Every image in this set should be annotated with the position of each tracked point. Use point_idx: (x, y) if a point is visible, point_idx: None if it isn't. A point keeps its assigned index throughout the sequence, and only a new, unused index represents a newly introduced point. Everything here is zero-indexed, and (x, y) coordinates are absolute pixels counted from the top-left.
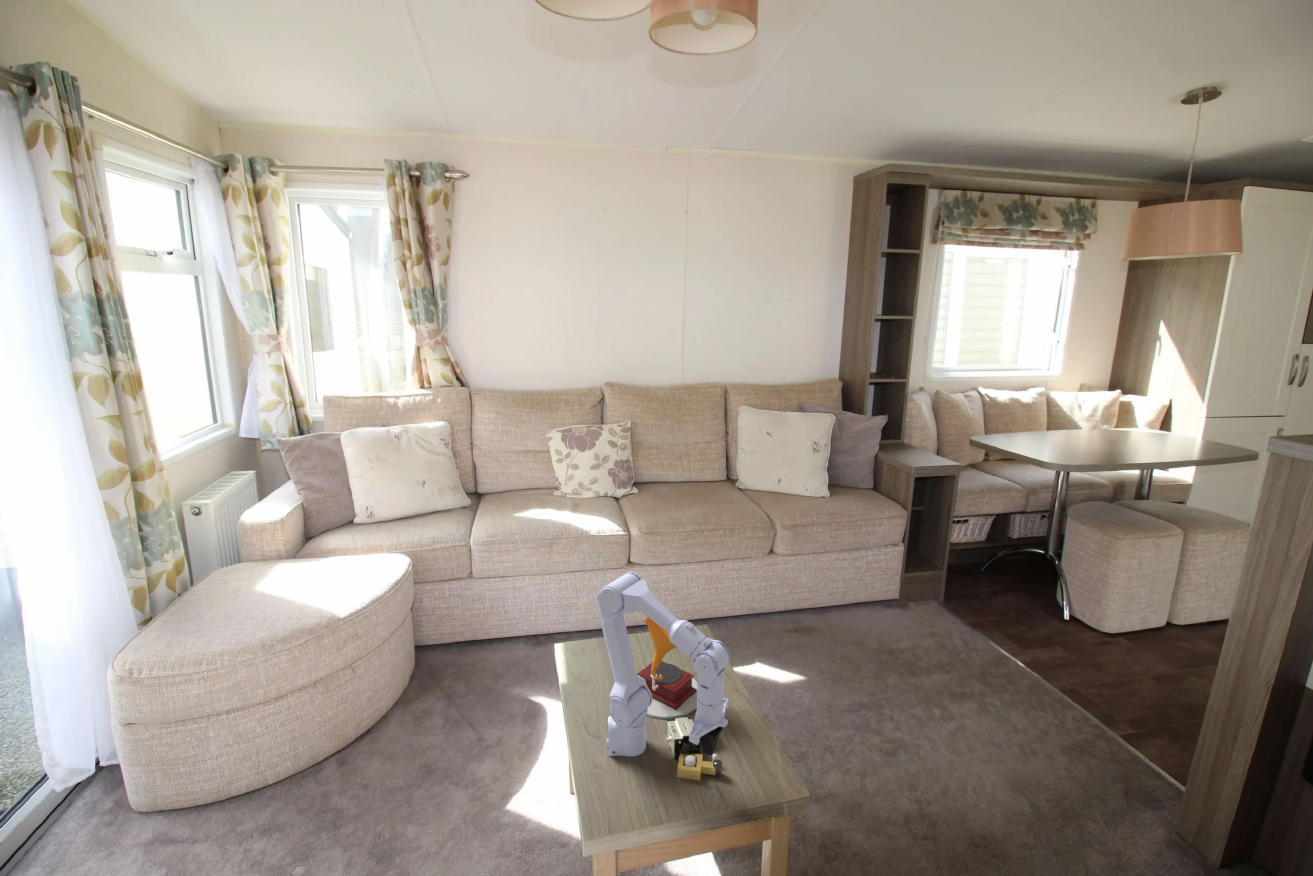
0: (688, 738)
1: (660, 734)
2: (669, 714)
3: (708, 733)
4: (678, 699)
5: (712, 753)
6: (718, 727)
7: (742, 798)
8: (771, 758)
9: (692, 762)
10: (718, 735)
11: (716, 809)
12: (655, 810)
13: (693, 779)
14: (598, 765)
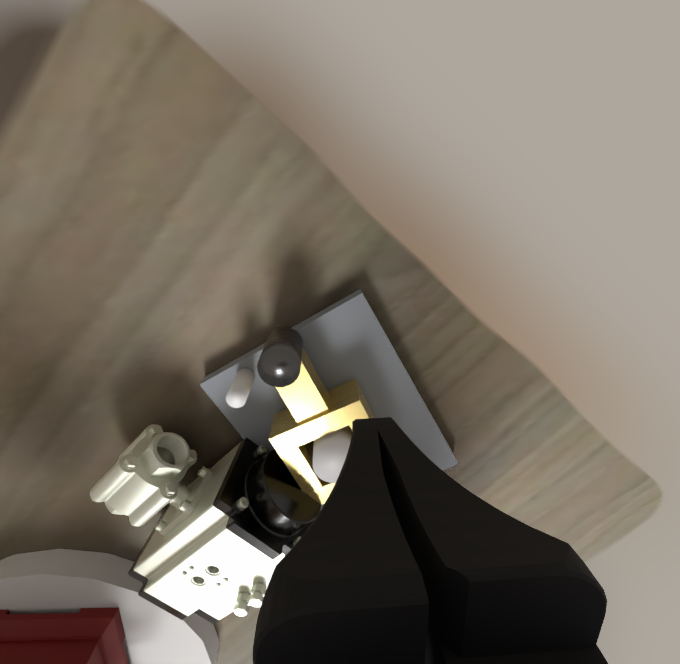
0: (262, 535)
1: None
2: (155, 610)
3: (587, 651)
4: (72, 640)
5: (377, 420)
6: (426, 632)
7: (312, 202)
8: (12, 195)
9: (347, 450)
10: (366, 507)
11: (421, 265)
12: (525, 425)
13: (366, 400)
14: None
